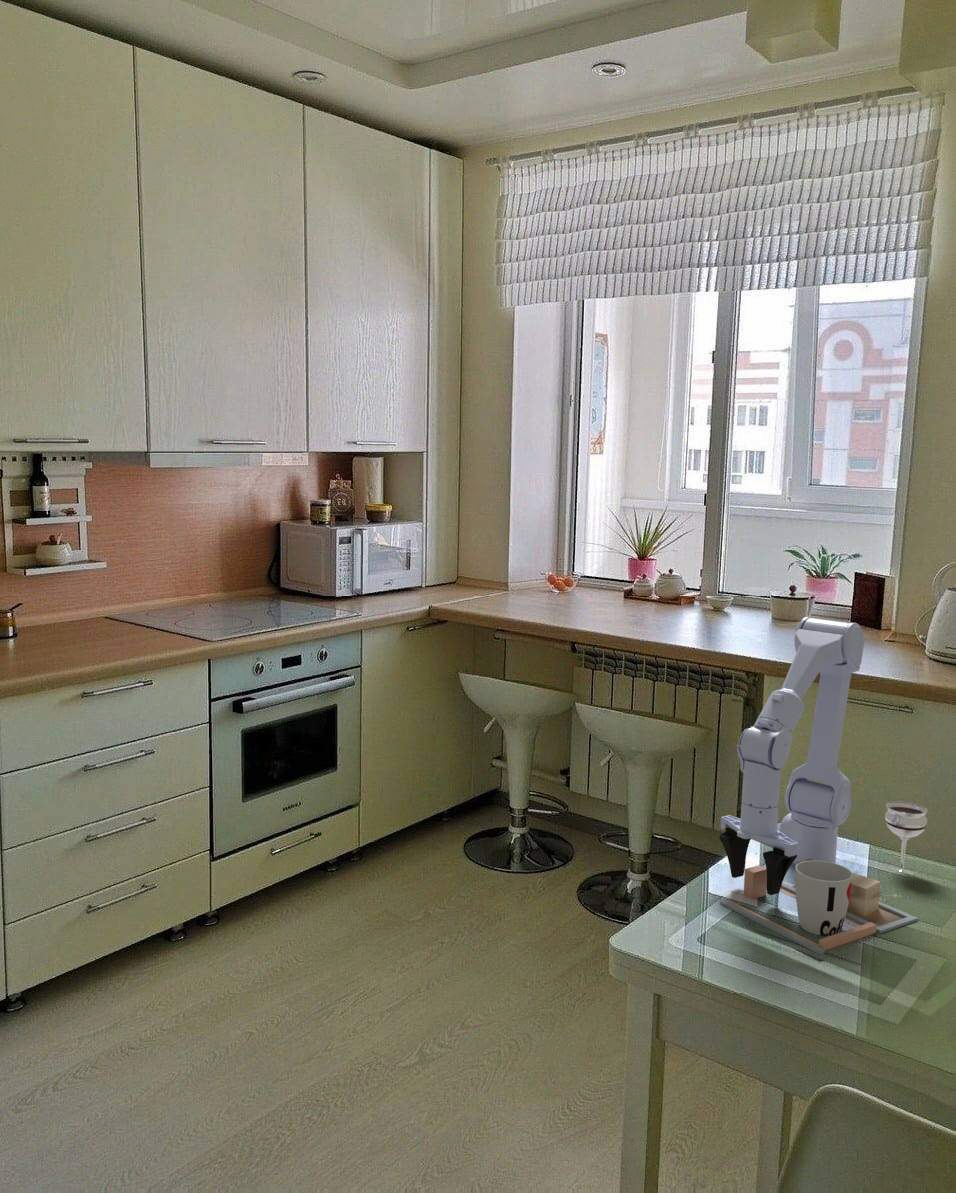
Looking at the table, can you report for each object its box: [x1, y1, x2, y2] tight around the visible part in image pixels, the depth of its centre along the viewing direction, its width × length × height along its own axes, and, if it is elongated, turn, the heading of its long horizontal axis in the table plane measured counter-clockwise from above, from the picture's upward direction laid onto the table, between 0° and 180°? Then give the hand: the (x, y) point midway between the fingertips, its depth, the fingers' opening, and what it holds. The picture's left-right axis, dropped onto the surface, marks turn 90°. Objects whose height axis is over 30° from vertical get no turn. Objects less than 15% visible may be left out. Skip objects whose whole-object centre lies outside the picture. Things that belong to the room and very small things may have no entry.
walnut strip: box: [790, 859, 903, 927], centre depth 164 cm, size 17×6×5 cm, turn 32°
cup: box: [795, 861, 853, 937], centre depth 155 cm, size 8×8×10 cm
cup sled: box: [728, 864, 877, 951], centre depth 158 cm, size 19×12×6 cm, turn 32°
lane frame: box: [719, 882, 919, 963], centre depth 160 cm, size 20×22×2 cm
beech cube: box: [847, 872, 881, 917], centre depth 162 cm, size 4×4×4 cm
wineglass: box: [884, 801, 928, 876], centre depth 178 cm, size 7×7×12 cm
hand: (755, 884), depth 166 cm, fingers open, 7 cm apart
